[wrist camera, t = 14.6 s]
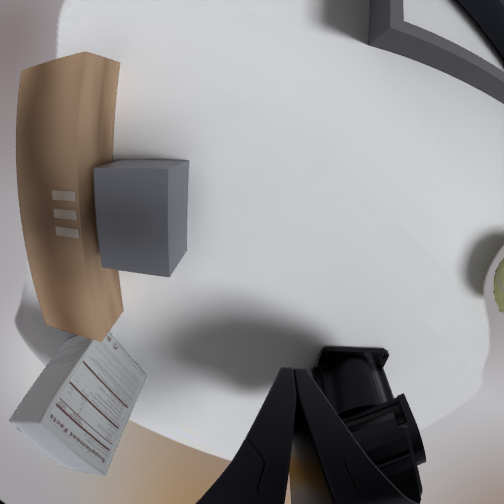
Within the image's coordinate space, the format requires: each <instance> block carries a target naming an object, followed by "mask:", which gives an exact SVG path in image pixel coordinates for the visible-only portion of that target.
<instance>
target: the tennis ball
mask: <svg viewBox="0 0 504 504" xmlns="http://www.w3.org/2000/svg"><path fill="white" fill-rule="evenodd" d="M495 272H496V274H495V277H494V294H495V300H496V303H497V305H498V307H499V311H500V312H503V313H504V259H503V260H502V261H501V262H500V264H499V266H498V268H497V269H496V271H495Z"/></svg>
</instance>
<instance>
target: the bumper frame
mask: <svg viewBox="0 0 504 504" xmlns="http://www.w3.org/2000/svg"><path fill="white" fill-rule="evenodd" d="M369 45H370V46H373V47H377V48H380V49H384V50H387V51H390V52H393V53H396V54H399V55H402V56H405V57H408V58H410V59H413V60H416V61H418V62H421V63H423V64H426V65H428V66H431V67H433V68H436V69H438V70H440V71H443V72H445V73H447V74H449V75H451V76H453V77H456V78H458V79H460V80H462V81H464V82H466V83H468V84H470V85H472V86H474V87H476V88H477V89H479V90H481V91H483V92H485V93H486V94H488V95H490V96H492V97H493V98H495V99H497V100H498V101H500V102H502V103H503V104H504V72H503V71H502V70H500V69H498V68H497V67H495V66H494V65H492V64H491V63H489V62H487V61H486V60H484V59H482V58H481V57H479V56H477V55H475V54H474V53H472V52H470V51H468V50H466V49H465V48H463V47H461V46H459V45H457V44H455V43H453V42H451V41H449V40H447V39H445V38H443V37H441V36H438V35H436V34H434V33H432V32H429V31H427V30H425V29H422V28H420V27H418V26H415V25H412V24H410V23H407V22H405V21H404V16H403V0H370V25H369Z"/></svg>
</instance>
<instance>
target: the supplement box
mask: <svg viewBox="0 0 504 504" xmlns="http://www.w3.org/2000/svg"><path fill="white" fill-rule="evenodd" d="M145 379H146V375H145V373H144V372H143V371H142V370H141V369H140V368H139V366H138V365H137V364H136V363H135V362H134V361H133V360H132V358H131V357H130V356H129V355H128V354H127V353H126V351H125V350H124V349H123V348H122V347H121V346H120V344H119V343H118V342H117V341H116V339H115V338H114V337H113V336H112V335H111V333H110V332H108V334H107V335H106V336H105V338H104V339H103V341H102V342H99V341H96V340H92V339H89V338H85V337H82V336H79V335H77V336H75V337H73V338H70V339H68V340H66V341H65V342H64V344H63V345H62V346H61V348H60V349H59V350H58V351H57V353H56V354H55V355H54V357H53V358H52V359H51V361H50V362H49V363H48V365H47V366H46V367H45V369H44V370H43V372H42V373H41V374H40V376H39V377H38V378H37V380H36V381H35V383H34V384H33V386H32V387H31V388H30V390H29V391H28V393H27V394H26V395H25V397H24V398H23V400H22V402H21V403H20V404H19V406H18V407H17V409H16V410H15V412H14V413H13V415H12V417H11V418H10V420H9V421H10V422H11V424H12V425H13V426H14V427H15V428H16V429H17V430H18V431H19V432H20V433H21V434H22V435H23V436H25V437H26V438H27V439H28V440H29V441H30V442H31V443H32V444H34V445H35V446H36V447H37V448H39V449H40V450H41V451H42V452H43V453H45V454H46V455H47V456H48V457H50V458H51V459H52V460H54V461H55V462H56V463H58V464H59V465H60V466H62V467H64V468H65V469H71V470H76V471H80V472H85V473H90V474H96V475H102V476H106V474H107V471H108V468H109V466H110V463H111V461H112V458H113V456H114V453H115V450H116V448H117V446H118V443H119V441H120V438H121V436H122V434H123V431H124V429H125V426H126V424H127V422H128V419H129V417H130V414H131V412H132V409H133V407H134V405H135V402H136V400H137V398H138V395H139V393H140V391H141V388H142V386H143V384H144V382H145Z"/></svg>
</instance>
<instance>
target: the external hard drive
mask: <svg viewBox="0 0 504 504" xmlns="http://www.w3.org/2000/svg"><path fill="white" fill-rule="evenodd" d="M459 1H460V3H461V4H462V5H463V6H464V7H465V8H466V9H467V11H468V12H469V13H470V14H471V16H472V17H473V18H474V19H475V20H476V21H477V23H478V24H479V25H480V27H481V28H482V29H483V30H484V32H485V33H486V34H487V36H488V37H489V38H490V40H491V41H492V42H493V44H494V45H495V47H496V48H497V49H498V50H499V52H500V53H501V55H502V56H503V58H504V0H459Z"/></svg>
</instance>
